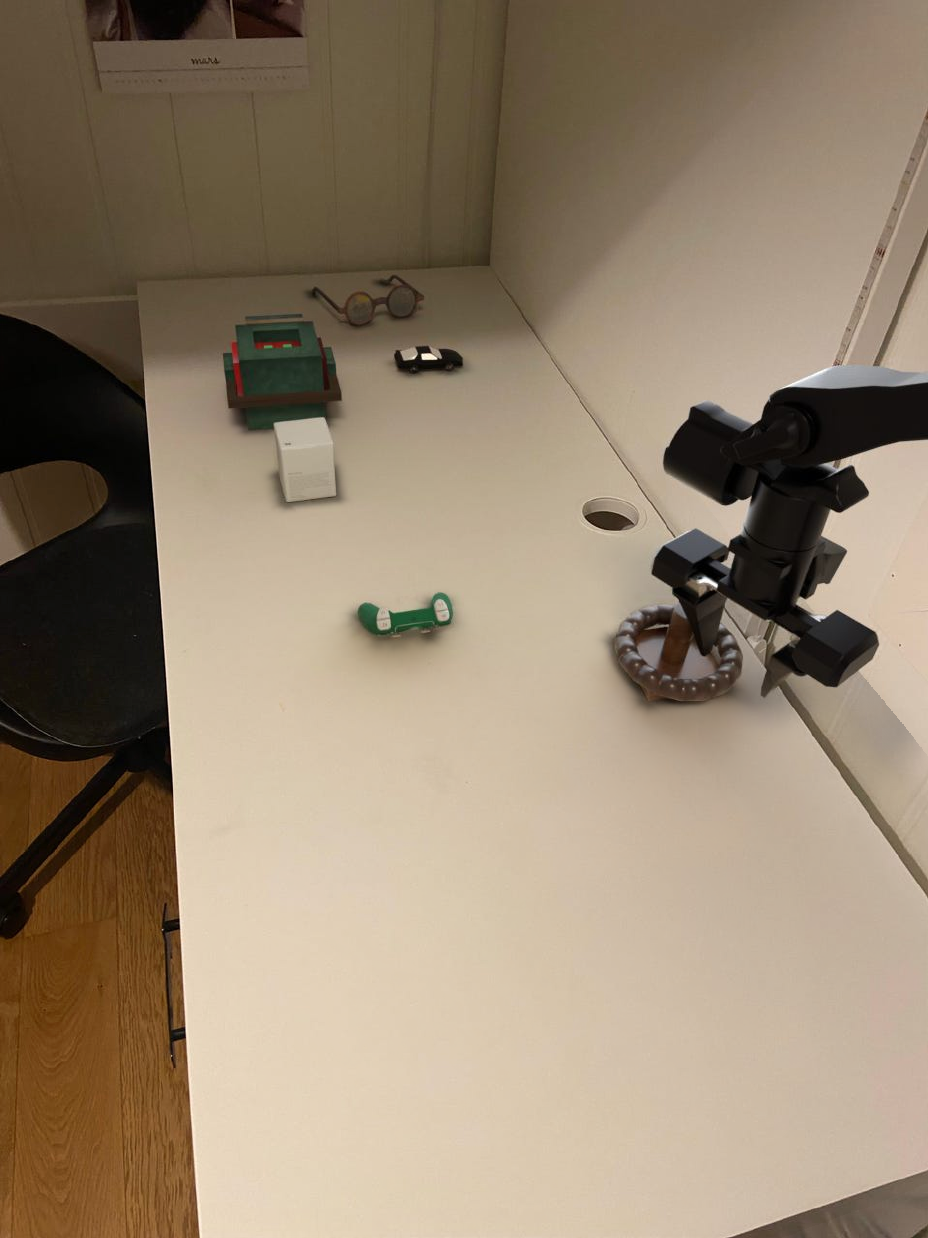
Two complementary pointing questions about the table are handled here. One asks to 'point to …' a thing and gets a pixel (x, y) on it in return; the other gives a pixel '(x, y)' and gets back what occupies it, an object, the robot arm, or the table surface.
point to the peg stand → (674, 651)
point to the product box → (305, 459)
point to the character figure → (279, 371)
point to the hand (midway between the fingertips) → (734, 673)
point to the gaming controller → (406, 617)
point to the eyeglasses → (377, 302)
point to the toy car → (427, 359)
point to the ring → (670, 684)
